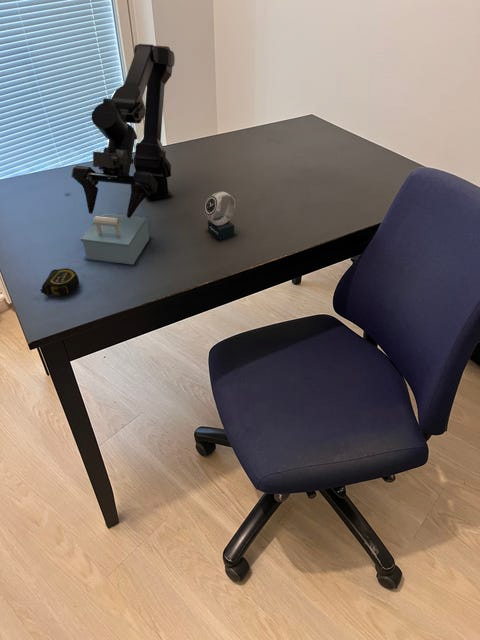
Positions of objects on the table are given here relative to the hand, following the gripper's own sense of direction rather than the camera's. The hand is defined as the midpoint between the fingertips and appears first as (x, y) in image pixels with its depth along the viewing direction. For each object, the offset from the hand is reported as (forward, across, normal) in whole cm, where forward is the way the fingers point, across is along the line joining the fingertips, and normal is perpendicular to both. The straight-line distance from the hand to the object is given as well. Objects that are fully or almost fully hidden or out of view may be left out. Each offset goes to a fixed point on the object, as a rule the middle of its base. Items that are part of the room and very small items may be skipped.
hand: (109, 215), depth 109 cm
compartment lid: (+2, 0, +4) cm, 5 cm away
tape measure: (+19, -6, -4) cm, 20 cm away
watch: (-3, +23, +17) cm, 29 cm away
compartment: (+6, 0, +8) cm, 10 cm away
